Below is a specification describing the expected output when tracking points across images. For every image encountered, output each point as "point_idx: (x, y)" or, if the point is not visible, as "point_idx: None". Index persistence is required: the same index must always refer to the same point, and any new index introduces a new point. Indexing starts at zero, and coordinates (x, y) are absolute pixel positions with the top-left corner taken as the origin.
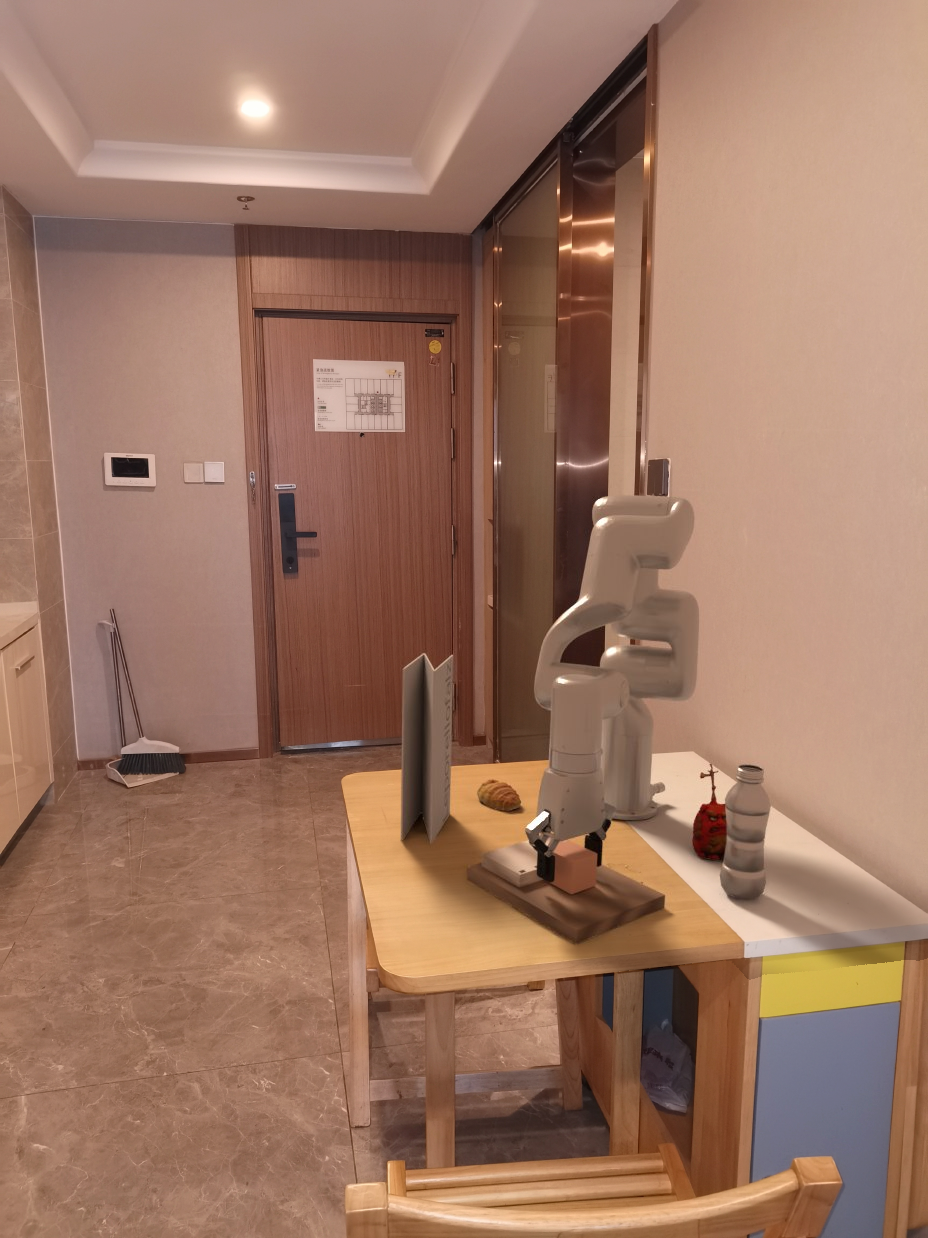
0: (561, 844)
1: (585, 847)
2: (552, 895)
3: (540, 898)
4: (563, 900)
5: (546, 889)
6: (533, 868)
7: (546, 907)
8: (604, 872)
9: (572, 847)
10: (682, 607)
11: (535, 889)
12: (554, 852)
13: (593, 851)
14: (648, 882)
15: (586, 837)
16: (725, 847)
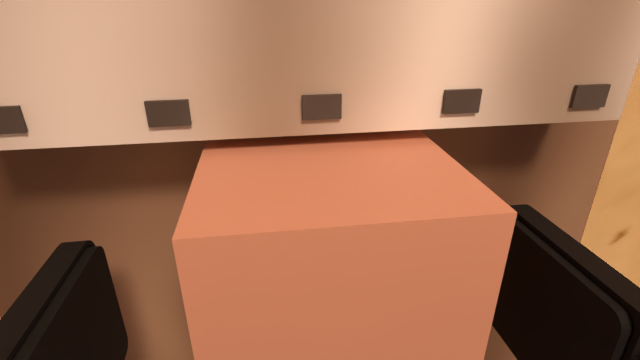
0: (385, 251)
1: (554, 268)
2: (149, 276)
3: None
4: (168, 330)
5: (160, 215)
6: (120, 122)
7: None
8: (540, 211)
9: (409, 339)
10: None
11: (99, 188)
12: (196, 352)
13: (531, 335)
14: (634, 246)
15: (622, 335)
16: None
